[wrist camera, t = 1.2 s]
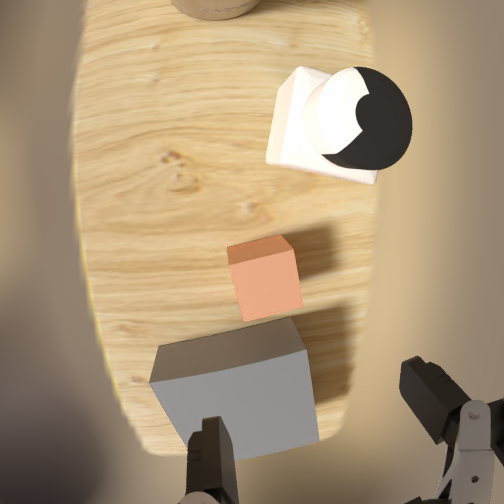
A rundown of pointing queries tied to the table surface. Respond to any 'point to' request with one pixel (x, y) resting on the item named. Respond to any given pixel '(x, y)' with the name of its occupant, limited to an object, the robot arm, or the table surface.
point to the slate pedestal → (241, 387)
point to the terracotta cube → (265, 277)
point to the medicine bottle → (339, 124)
